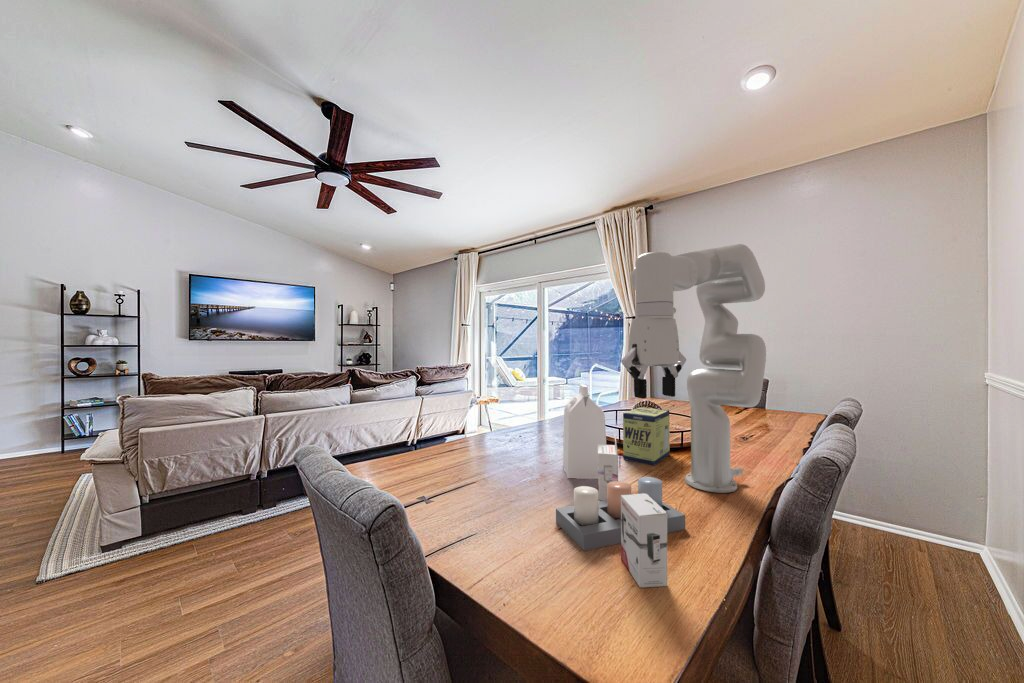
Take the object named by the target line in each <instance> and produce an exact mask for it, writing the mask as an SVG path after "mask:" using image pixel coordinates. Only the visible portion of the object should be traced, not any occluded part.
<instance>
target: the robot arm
mask: <svg viewBox="0 0 1024 683" xmlns="http://www.w3.org/2000/svg"><path fill="white" fill-rule="evenodd" d="M630 283H631V286H632V288H633V289H634V291H635V318H633V319H631V323H630V327H629V334H628V342H627V343H628V347H627V353H626V354H625V356H623V358H622V359H621V361H620V363H621V364H622V365H623V367H624V368H625V369H626V371H627V372H628V373H629V375H630V377H631V378H632V379H633V392H634V394H633V396H634V397H635V398H636V399H637V398H639V399H644V400H645V399H647V397H648V396H647V395H648V394H647V392H648V391H647V386H648V384H647V383H648V382H647V381H648V380H647V379H646V378H645V376H646V373H647V370H648V369H649V367H661V370H662V372H663V374H664V376H662V379H661V380H662V390H661V392H662V395H663V396H666V397H667V396H668V397H674V398H675V397H676V379H677V378H678V377H679V373H680V372H681V371H682V369H683V367H684V365H685V364H686V362H687V358H686V357H685V356H684V355H683V354H682V353H681V351H680V343H679V342H680V341H679V338H680V337H679V331H678V326H677V320H676V318H674V314H676V313H677V308H675V307H674V292H681V291H686V290H689V289H691V288H693V287H695V286H696V288H695V289H696V290H695V291H696V296H697V300H698V304H699V306H700V310H701V311H702V315H703V318H704V328H703V332H702V338H701V342H700V346H699V353H698V354H699V360H700V362H701V364H703V366H706V368H704V367H703V368H697V369H695V370H692V371H691V372H689V374H688V375H687V379H686V389H687V390H686V391H687V394H688V400H689V408H690V462H691V463H690V464H691V465H690V468H691V470H690V473H687V474H686V475H685V477H684V481H685V483H686V484H687V485H689V486H691V487H692V488H695V489H697V490H701V491H704V492H709V493H716V494H717V493H718V494H726V493H727V494H728V493H732V492H733V493H734V492H736V491H737V490H738V483H737V481H735V480H734V478H735V476H742V475H743V474H744V472H743V471H744V470H743V469H742V467H735V468H734V467H731V421H730V418H729V416H728V414H727V413H726V412H725V410H724V408H723V407H722V406H729V407H730V406H732V407H738V408H739V407H740V408H754V407H756V406H757V405H759V403H760V401H761V398H762V394H763V384H764V377H765V369H766V361H767V347H766V343H765V341H764V339H763V338H762V336H760V335H757V334H754V333H738V327H739V320H738V318H737V317H736V316H735V315H734V313H733V312H732V311H730V310H729V309H728V308H726V307H725V305H724V304H737V303H751V302H756V301H759V300H760V299H762V298H763V297H764V294H765V290H766V281H765V278H764V275H763V273H762V271H761V268H760V265H759V263H758V260H757V258H756V256H755V255H754V253H753V251H752V250H751V248H749V246H747V245H746V244H744V243H743V244H742V243H737V244H731V245H726V246H725V245H724V246H720V247H719V246H718V247H713V248H706V249H702V250H695V251H689V252H685V253H680V254H677V255H671V253H668V252H662V251H654V252H647V253H642V254H640V255H638V257H637V258H636V259H635V265H634V267H633V269H632V271H631V274H630ZM707 367H710V368H707Z"/></svg>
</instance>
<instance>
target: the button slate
mask: <svg viewBox="0 0 1024 683" xmlns="http://www.w3.org/2000/svg"><path fill="white" fill-rule="evenodd" d="M642 493H644V494H648V495H649V497H651V498H652V499H653V500H654V501H655V502H656V503H657V504H658V505H659V506H660V507H661V508H662V502H663V481H662V480H661V479H659V478H656V477H653V476H652V477H651V476H641V477H638V479H637V494H642Z"/></svg>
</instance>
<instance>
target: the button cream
mask: <svg viewBox="0 0 1024 683" xmlns="http://www.w3.org/2000/svg"><path fill="white" fill-rule="evenodd" d="M598 501H599V489H597V488H595V487H593V486H587V485H581V486H576V487H575V488H573V505H574V521H575V522H576V523H578V524H580V525H579V526H587V525H592V524H597V523H598V522H599V502H598Z"/></svg>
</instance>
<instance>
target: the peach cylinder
mask: <svg viewBox="0 0 1024 683" xmlns="http://www.w3.org/2000/svg"><path fill="white" fill-rule="evenodd" d="M629 494H632V486H631V484H629V483H627V482H624V481H619V480H618V481H614V482H609V483H608V484H607V514H608V515H609V516H611V517H612V518H615V520H619V519H621V495H629Z"/></svg>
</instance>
